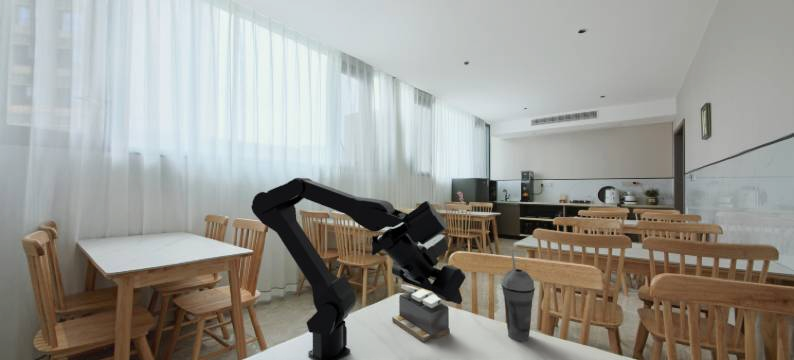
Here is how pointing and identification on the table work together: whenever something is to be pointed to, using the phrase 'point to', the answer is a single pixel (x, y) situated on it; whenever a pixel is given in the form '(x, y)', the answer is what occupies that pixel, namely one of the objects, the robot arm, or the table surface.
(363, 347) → the table surface
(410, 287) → the rocker left
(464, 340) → the table surface
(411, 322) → the switch unit
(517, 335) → the beverage cup
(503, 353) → the table surface
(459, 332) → the table surface
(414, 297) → the rocker mid
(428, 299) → the rocker right
